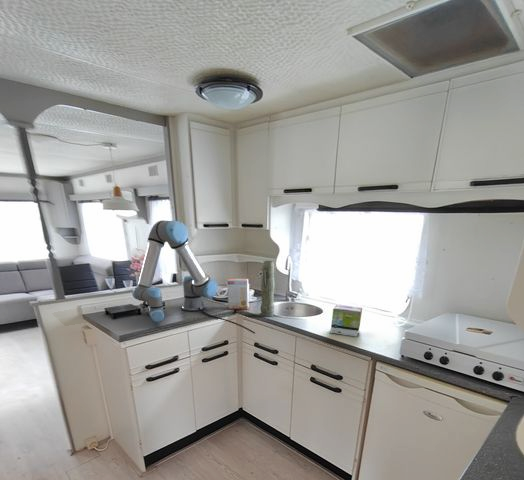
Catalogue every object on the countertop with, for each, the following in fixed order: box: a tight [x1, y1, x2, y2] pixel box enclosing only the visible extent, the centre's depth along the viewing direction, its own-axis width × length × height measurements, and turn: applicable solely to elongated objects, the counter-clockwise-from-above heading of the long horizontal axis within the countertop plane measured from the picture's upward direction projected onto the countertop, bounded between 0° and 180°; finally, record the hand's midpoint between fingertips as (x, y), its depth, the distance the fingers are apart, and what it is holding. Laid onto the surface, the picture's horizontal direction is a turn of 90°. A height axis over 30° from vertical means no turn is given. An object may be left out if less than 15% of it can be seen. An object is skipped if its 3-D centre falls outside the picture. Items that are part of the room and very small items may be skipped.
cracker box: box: [227, 278, 250, 311], centre depth 228 cm, size 14×6×21 cm, turn 84°
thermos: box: [260, 260, 276, 318], centre depth 211 cm, size 9×12×35 cm
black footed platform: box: [103, 303, 142, 320], centre depth 214 cm, size 16×18×4 cm
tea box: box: [330, 304, 363, 337], centre depth 183 cm, size 15×10×15 cm, turn 69°
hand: (151, 301), depth 219 cm, fingers open, 8 cm apart
